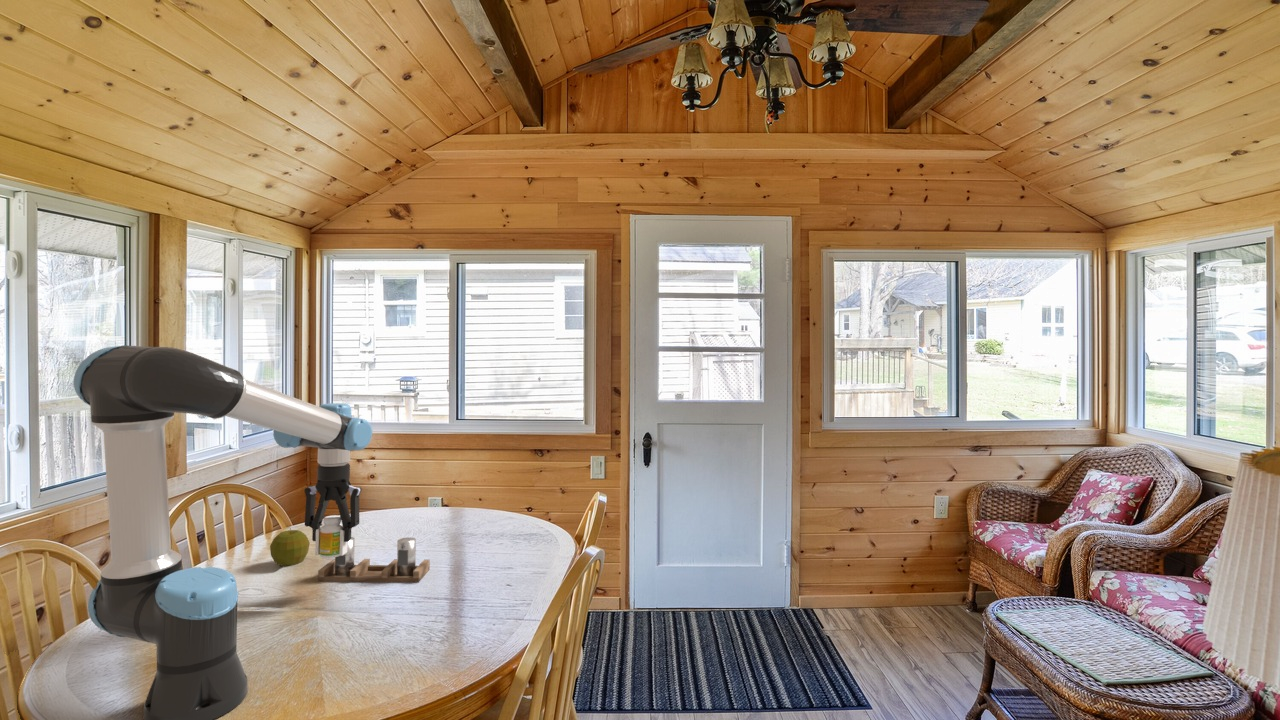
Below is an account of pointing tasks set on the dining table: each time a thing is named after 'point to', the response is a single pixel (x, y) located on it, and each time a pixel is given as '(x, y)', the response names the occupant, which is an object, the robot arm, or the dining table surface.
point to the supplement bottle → (330, 537)
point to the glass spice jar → (406, 556)
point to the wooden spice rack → (373, 573)
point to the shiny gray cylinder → (345, 561)
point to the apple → (289, 547)
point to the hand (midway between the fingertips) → (331, 553)
